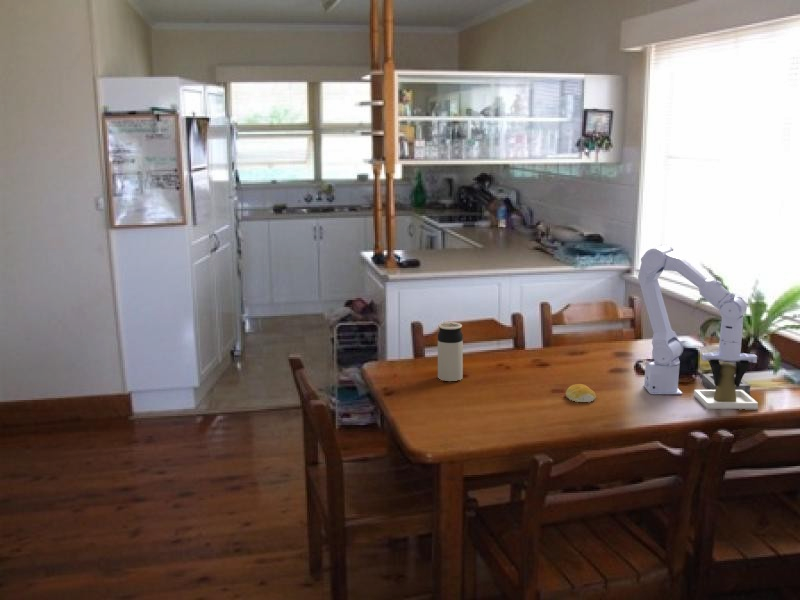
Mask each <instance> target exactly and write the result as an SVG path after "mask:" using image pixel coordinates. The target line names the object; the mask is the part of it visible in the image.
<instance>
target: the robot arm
mask: <svg viewBox="0 0 800 600" xmlns="http://www.w3.org/2000/svg"><path fill="white" fill-rule="evenodd" d="M640 262H641V263H640V267H639V271H638V275H637V276H638V277H637V278H638V282H639V283H638V284H639V286H640V291H641V293H642V297H643V301H644V304H645V308H646V312H647V314H648V318H649V322H650V325H651V329H652V333H653V336H652V340H651V345H652V351H651V357H652V358H653V361H650V362H649V361H647V362H646V364H645V367H644V383H643V386H644V389H646V390H647V392H648V393H649V394H650V395H682V394H683V392H682V391H681V390H680V389H679V378H680V377H679V375H680V366H681V364H680V363H681V361H680V359H679V358H680V357H681V356H682V354H683V352H684V346H683V343H682V341H680V340H679V338H678V336H677V333H676V332H675V330H673V328H672V325H671V322H670V319H669V314H668V311H667V308H666V305H665V301H664V298H663V294H662V290H661V286H660V284H659V278H660V276H661V274H662V273H663V272H664V271H668V272H669V271H670V272H671V271H672V272H677V273H678V274H680V275H681V276H682V277H683V278H685V280H688V282H690V283H691V284H693V285H694V286H695V287H697V288H698V290H699V295H700V296H701V297H702V298H703V299H704V300H706V301H707V302H708V303H710V304H711V306H713V307H714V308H715V309H716V310H718V312H719V315H720V316H721V323H720V330H719V331H720V332H719V342H718V351H712V352H701V360H702V362H707V361H708V363H709V366H710V368H711V369H710V370H711V372H712V374H713V377H714V384H715V385H716V386H718V385H719V373H720V368H721V365H720V363H721V362H735V366H736V368H737V372H736V375H735V385H736V386H737V387H739V385H740V382H741V379H743V378H744V376H745V374H746V372H747V371H748V370H749V368H750V363H753V364H757V362H758V361H757V360H758V356H757V355H756V354H755V353H744V352H741V349H742V339H743V328H744V323H743V322H744V314H745V313H746V312H747V307H748V306H747V303H746V300H744V299H743V297H741V296H739V295H738V296H736V294H735V293H734V292H730V291H729V290H727V288H725V287H724V286H723V283H722V282H721V280H717V281H716V280H715V279H707V278H706V277H705V276H704V275H703V274H702V273H701V272H700V271H699V270H698V269H696V267H694V266H693V265H692V264H691V263H690V262H689V261H688V260H687V259H686V258H684V257H683V255H682V254H681V253H680V252H678V251H677V250H674V248H673V247H672V246H671V245H668V244H661V245H658V246H657V247H654V248H650V249H648V250H647V251H646V252H645V253H644V254H643V255H642V256H641V258H640Z"/></svg>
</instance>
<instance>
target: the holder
mask: <svg viewBox="0 0 800 600" xmlns="http://www.w3.org/2000/svg"><path fill="white" fill-rule="evenodd" d="M701 375H702V377H701V382H702V383H703V384H704V385H705V386H706V388H708V390H716V385H715V384H714V377H713V373H706V374H705V373H702V374H701ZM735 375H736V374H735ZM735 375H734V378H735ZM735 390H743V391H745V392H746V393H747V394H751V384H750V383H748V382H747V381H746V380H744V379H743V378H742V379H741V382H740V385H739V387H737V386H736V385H735Z"/></svg>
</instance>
